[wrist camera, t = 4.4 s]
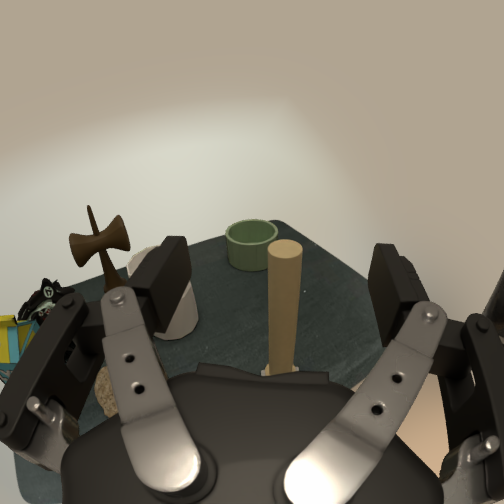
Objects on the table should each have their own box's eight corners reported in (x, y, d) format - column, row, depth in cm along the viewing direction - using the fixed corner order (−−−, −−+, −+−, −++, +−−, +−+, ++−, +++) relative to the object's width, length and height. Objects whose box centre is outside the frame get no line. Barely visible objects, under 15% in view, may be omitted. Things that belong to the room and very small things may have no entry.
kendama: (151, 306, 48) (120, 200, 37) (103, 325, 44) (58, 222, 33) (142, 288, 52) (114, 190, 41) (98, 305, 48) (60, 209, 37)
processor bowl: (282, 246, 62) (282, 222, 59) (270, 275, 54) (270, 248, 51) (238, 241, 65) (236, 217, 62) (220, 267, 57) (217, 241, 54)
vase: (141, 315, 46) (119, 257, 39) (185, 296, 50) (171, 237, 43) (159, 349, 40) (135, 289, 33) (208, 325, 44) (196, 263, 37)
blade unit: (296, 359, 38) (307, 232, 27) (301, 389, 34) (320, 263, 23) (260, 361, 38) (254, 235, 27) (262, 392, 34) (257, 267, 23)
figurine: (29, 336, 40) (26, 377, 30) (22, 260, 38) (10, 284, 27) (76, 335, 47) (84, 375, 36) (73, 261, 44) (77, 285, 34)
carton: (37, 421, 26) (-42, 338, 16) (46, 380, 33) (-17, 293, 23) (75, 425, 27) (-6, 338, 17) (82, 381, 34) (19, 288, 24)
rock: (154, 346, 37) (147, 345, 30) (177, 401, 35) (176, 413, 28) (91, 366, 33) (72, 368, 26) (114, 421, 31) (99, 435, 24)
